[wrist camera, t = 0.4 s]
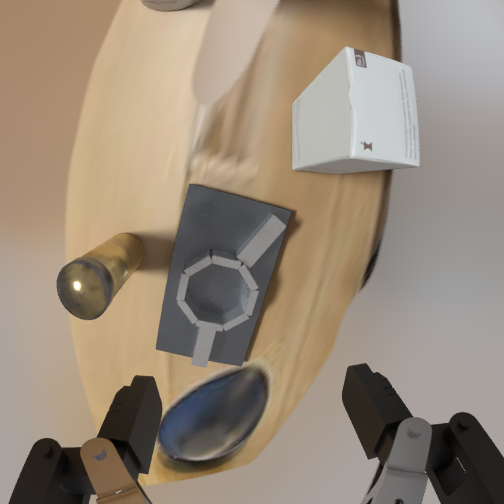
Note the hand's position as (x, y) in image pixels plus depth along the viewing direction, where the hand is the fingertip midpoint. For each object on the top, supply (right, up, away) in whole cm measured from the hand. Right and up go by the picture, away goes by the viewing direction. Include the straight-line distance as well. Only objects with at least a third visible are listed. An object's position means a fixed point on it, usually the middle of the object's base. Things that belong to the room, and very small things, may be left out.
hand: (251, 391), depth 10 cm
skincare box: (+7, +19, +19) cm, 27 cm away
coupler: (-14, +6, +19) cm, 24 cm away
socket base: (-4, +2, +21) cm, 22 cm away
